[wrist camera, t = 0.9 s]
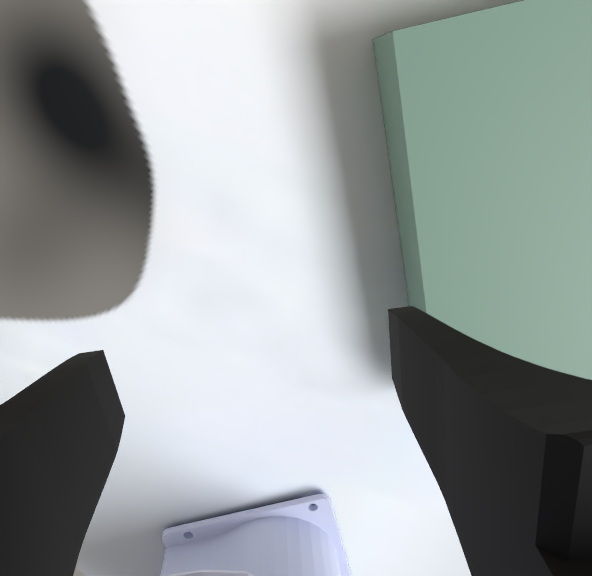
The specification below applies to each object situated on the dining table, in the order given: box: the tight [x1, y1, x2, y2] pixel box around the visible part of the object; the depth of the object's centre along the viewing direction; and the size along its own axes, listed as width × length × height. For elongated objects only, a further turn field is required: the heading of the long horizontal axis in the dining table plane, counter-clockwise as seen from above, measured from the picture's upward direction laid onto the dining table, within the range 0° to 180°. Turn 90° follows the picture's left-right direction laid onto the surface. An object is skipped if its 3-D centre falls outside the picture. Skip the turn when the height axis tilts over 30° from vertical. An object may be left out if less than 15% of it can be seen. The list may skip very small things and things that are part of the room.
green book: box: [373, 0, 592, 380], centre depth 20 cm, size 12×16×4 cm
